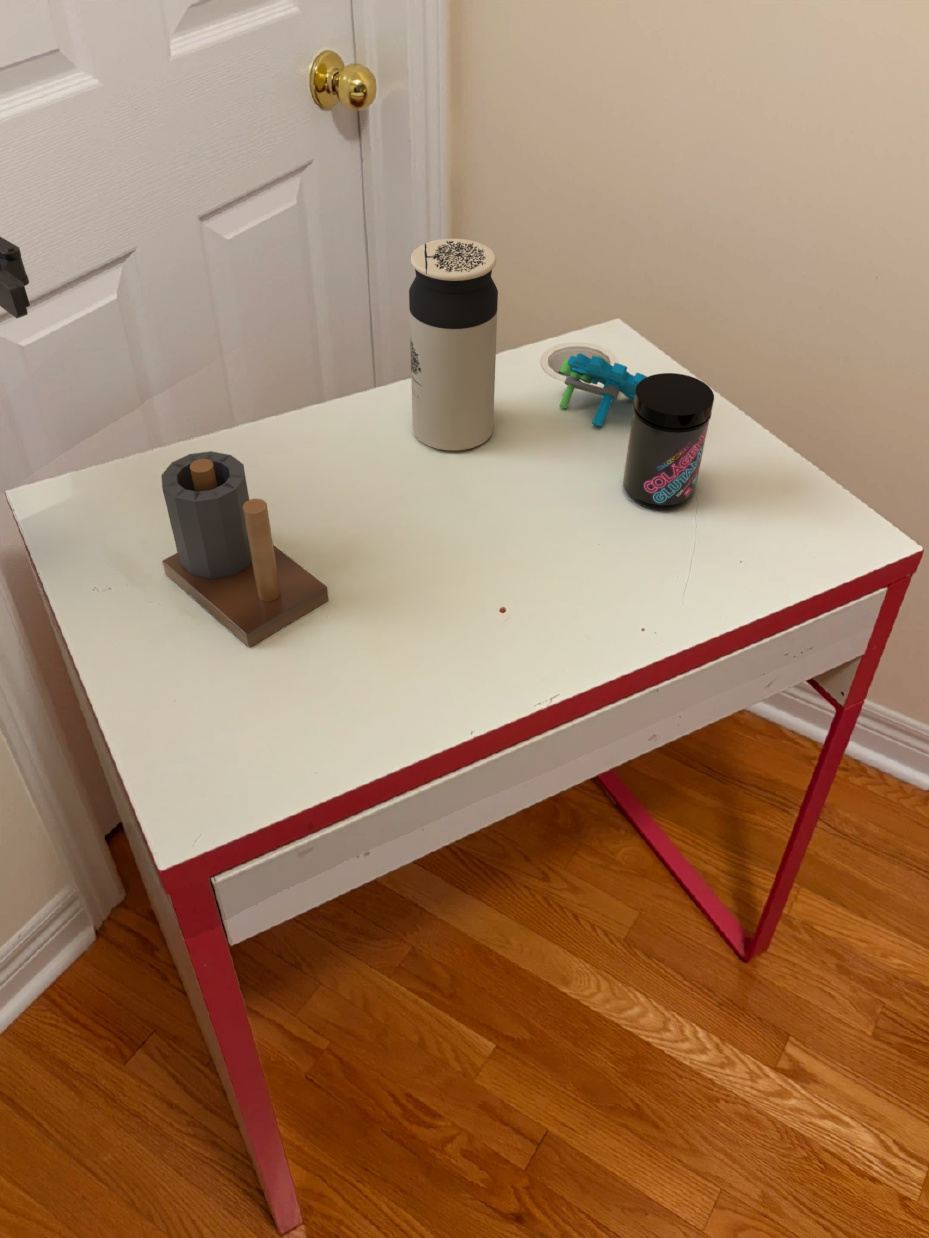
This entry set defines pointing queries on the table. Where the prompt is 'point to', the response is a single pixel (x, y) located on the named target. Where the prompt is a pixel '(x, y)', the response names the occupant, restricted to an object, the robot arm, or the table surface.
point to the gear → (598, 372)
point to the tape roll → (208, 516)
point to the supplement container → (667, 440)
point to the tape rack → (251, 577)
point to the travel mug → (453, 343)
